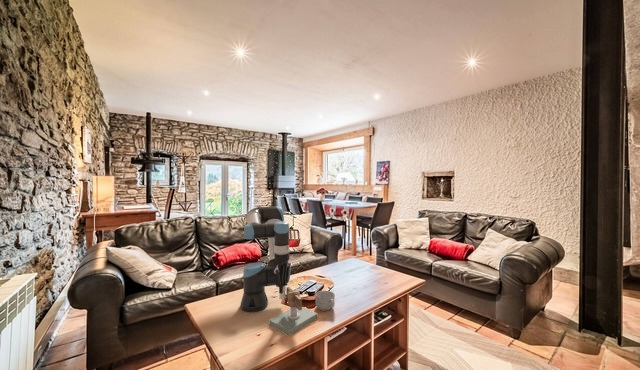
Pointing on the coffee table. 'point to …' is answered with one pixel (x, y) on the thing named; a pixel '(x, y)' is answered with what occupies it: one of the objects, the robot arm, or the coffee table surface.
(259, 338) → the coffee table surface
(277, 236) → the robot arm
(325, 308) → the teacup
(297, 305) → the knob
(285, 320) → the grey-green base
